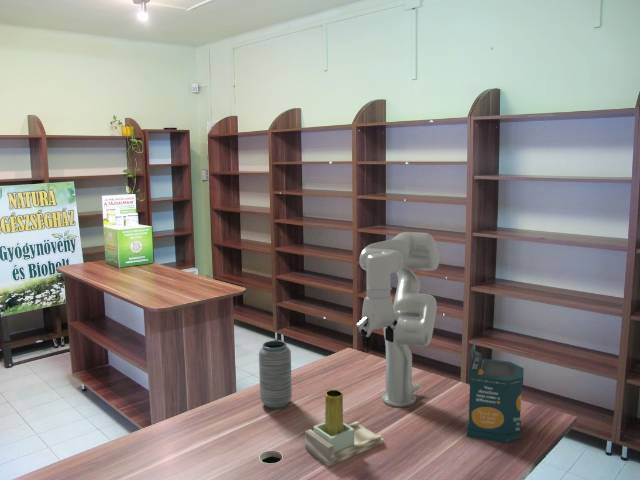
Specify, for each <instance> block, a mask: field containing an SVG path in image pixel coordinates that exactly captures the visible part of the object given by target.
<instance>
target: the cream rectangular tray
mask: <svg viewBox="0 0 640 480" xmlns="http://www.w3.org/2000/svg"><path fill="white" fill-rule="evenodd" d="M347 425H348V426H350V427H352V428H353V429H354V446H351V447H349V448H347V449H344V450H342V451H339V452H337V453H335V454H334V445H332V444H331V443H329V442H328V441H326V440H325V439H324V438H322V437H321V436H319V435H318V434H316V433H315V432H314V431H313V430H312V429H310V428H309V429H307V430H305V431H304V441H305V443H304V445H305V446H304V449H305V450H306V451H307V452H308V453H310V454H311V455H312V456H313V457H315V458H316V459H318V460H319V461H320V462H322V463H323V464H324V465H326V466H327V467H331V466H333V465H335V464H337V463H341V462H342V461H346V460H348V459H349V458H352V457H353V456H356V455H358V454H360V453H363V452H365V451H368V450H370V449H372V448H374V447H376V446H380V445H381V444H382V445H383V443H385V441H384V438H383V437H382V435H380V434H378V435H377V433H375V432H373V431H372V430H370V429H368V428H366V427H364V426H363V425H361V424H360V422H359V421H358V420H357V421H354V422H352V423H349V424H347Z"/></svg>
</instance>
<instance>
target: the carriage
mask: <svg viewBox="0 0 640 480" xmlns="http://www.w3.org/2000/svg"><path fill="white" fill-rule="evenodd" d="M348 425H349V424H348V423H345V422H344V421H343V428H344V432H342V433H340V434H337V435H335V436H332V437H331V436H330V435H328V434H327V433H325V421H324V422H321V423H318V424H317V425H314V426H313V430H312V431H314V432H315V433H316V434H318V435H319V436H321V437H322V438H324V439H325V440H326V441H328V442H329V443H331V444H332V445H334V454H335V453H337V452H339V451H342V450H344V449H347V448H349V447H351V446H354V429H353V428H352V427H350V426H348Z"/></svg>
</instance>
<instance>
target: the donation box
mask: <svg viewBox="0 0 640 480" xmlns="http://www.w3.org/2000/svg"><path fill="white" fill-rule="evenodd" d="M482 356H483V354H482V353H480V352H478V351H476V339H475V338H474V339H473V342H472V346H471V349H470V352H469V364H468V365H469V366H468V367H469V369H468V370H469V371H468V384H469V397H468V398H469V400H468V401H469V403H468V404H469V405H468V406H469V407H468V424H467V428H466V429H467V431H466V437H467V438H473V439H481V440H485V441H492V442H497V443H502V444H503V443H504V444H508V443H511V442H514V441H517V440H520V439H521V433H522V432H521V431H522V429H521V428H522V421H521V412H522V411H521V410H522V408H521V407H522V388H523V387H522V386H523V385H524V374H525V373H524V369H525V368H524V367H522V366H520V365H518V364H516V363H513V362H511V361H507V360H499V359H497V360H496V359H490V358H489V359H487V358H482Z"/></svg>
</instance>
